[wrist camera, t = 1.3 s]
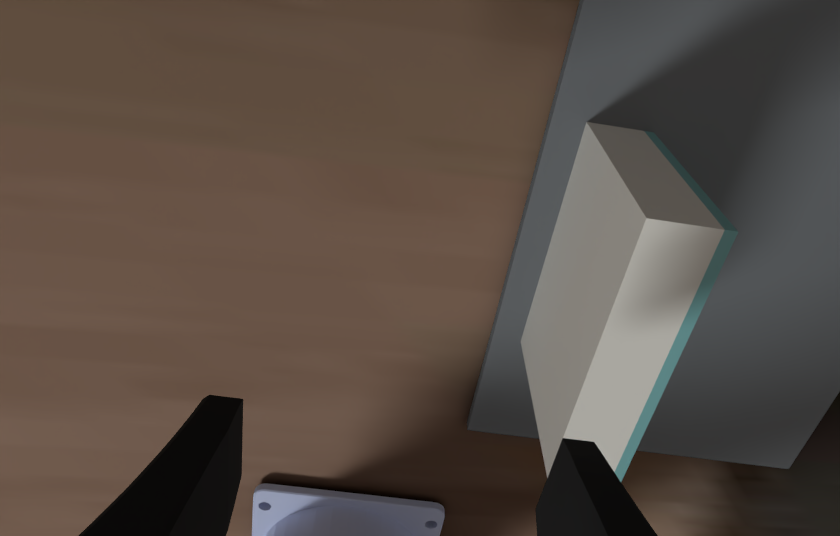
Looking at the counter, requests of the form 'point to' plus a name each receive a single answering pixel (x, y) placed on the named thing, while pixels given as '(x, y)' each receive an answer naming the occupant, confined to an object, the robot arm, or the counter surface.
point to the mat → (730, 191)
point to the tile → (618, 291)
